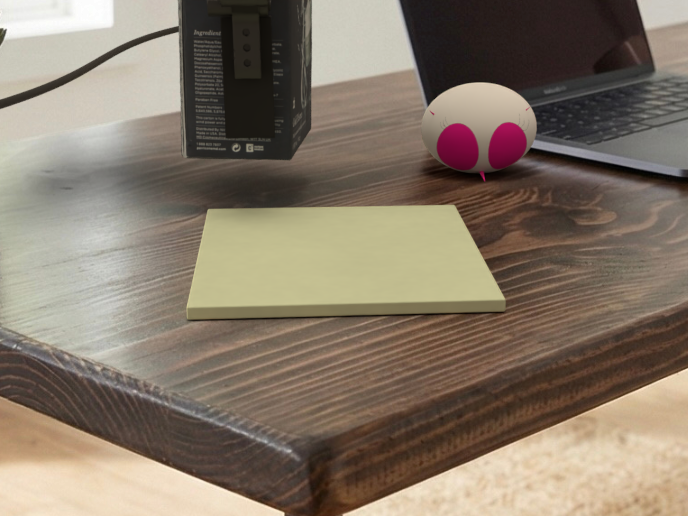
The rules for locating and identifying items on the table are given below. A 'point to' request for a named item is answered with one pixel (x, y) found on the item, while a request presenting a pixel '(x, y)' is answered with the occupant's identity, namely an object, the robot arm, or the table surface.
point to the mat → (339, 263)
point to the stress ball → (478, 128)
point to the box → (208, 95)
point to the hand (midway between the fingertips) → (251, 119)
